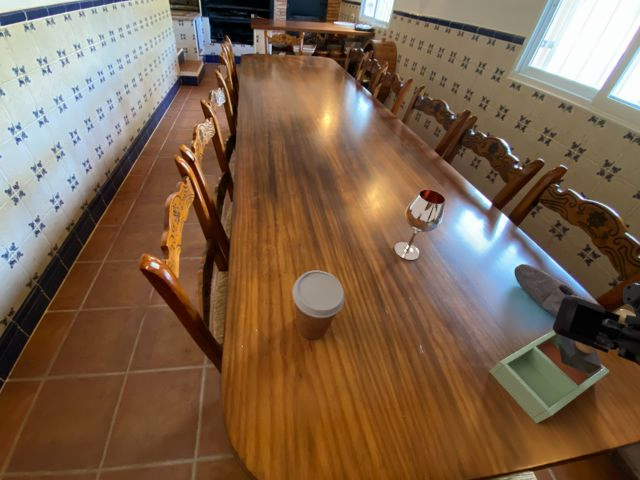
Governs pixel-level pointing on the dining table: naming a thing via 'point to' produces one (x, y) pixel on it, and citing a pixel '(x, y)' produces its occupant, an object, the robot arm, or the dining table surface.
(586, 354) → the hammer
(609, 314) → the robot arm
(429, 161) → the dining table surface
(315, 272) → the disposable coffee cup
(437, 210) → the wineglass
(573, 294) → the perforated stone tool
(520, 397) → the divided tray
